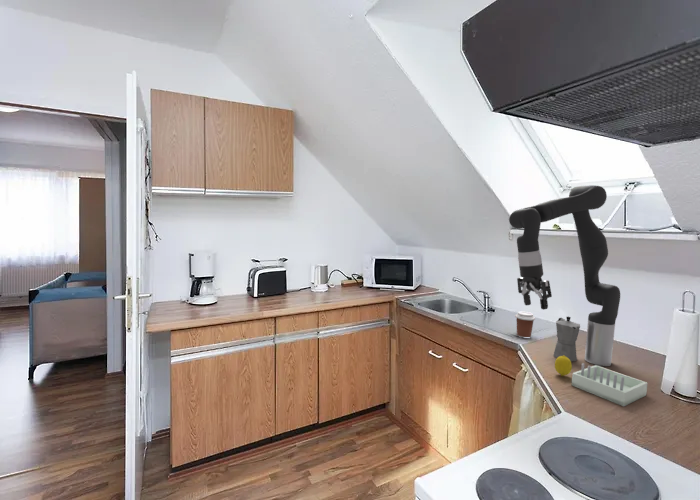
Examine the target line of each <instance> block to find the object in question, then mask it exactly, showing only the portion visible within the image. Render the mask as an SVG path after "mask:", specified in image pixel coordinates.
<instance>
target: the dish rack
mask: <svg viewBox="0 0 700 500" xmlns="http://www.w3.org/2000/svg"><path fill="white" fill-rule="evenodd" d="M571 386H573V388H574V387H575V388H577V389H580V390H582V391H584V392H587V393H589V394H592V395H594V396H597V397H600V398H602V399H604V400H607V401H609V402H612V403H614V404H617V405H619V406H622V407H626V406H627V405H630V404H631V403H633V402H635V401H638V400H639V399H643V397H644V398H645V396H647V392H648V382H647V381H644V380H641V379H638V378H636V377H633V376H629V375H625V374H623V373H620V372H617V371H614V370H611V369H609V368H605V367H604V366H600V365H595V364H594V365H592V366H591V365H587V367H586V368H585V363H581V369H579V370H577V371H574V372H572V378H571Z"/></svg>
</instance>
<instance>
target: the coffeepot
mask: <svg viewBox="0 0 700 500" xmlns="http://www.w3.org/2000/svg"><path fill="white" fill-rule="evenodd" d="M555 324H556V325H555V327H556V336H557V337H556V338H557V340H556V343H555V344H556V345H555V348H554V351H553V357H554V358H556V359H557V358H558V357H559V356H563V355H564V356H566V357H567V358H569V359H570V361H571V362H576V361H578V356H577V344H576V342H577V340H578V338H579V337H578V335H579V333H580V329H581V323H577V322H574V321H571V316H566V319H564V318H562V317H559V318H558V320H556V321H555Z"/></svg>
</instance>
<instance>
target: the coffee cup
mask: <svg viewBox="0 0 700 500" xmlns="http://www.w3.org/2000/svg"><path fill="white" fill-rule="evenodd" d="M514 316H515V317H514V318H516V337H518V336H519V337H518V338H521V337H531V338H532V331H533V327H534V321H535V320H536V317H535V316H534V314H533V313H532V312H530V311H529V312H528V311H521V310H520V311H518V312H517V313H516V314H514Z"/></svg>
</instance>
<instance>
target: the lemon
mask: <svg viewBox="0 0 700 500" xmlns="http://www.w3.org/2000/svg"><path fill="white" fill-rule="evenodd" d="M554 361H555V362H554V369H555V371H556V372H557V373H558V374H559V375H560V376H561V377H564V376H567V375H569V374H570V373H572V368H573V365H572V361H570V359H569V358H567V357H566V356H564V355H563V356H559V357H558V358H556V359H555V360H554Z"/></svg>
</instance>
